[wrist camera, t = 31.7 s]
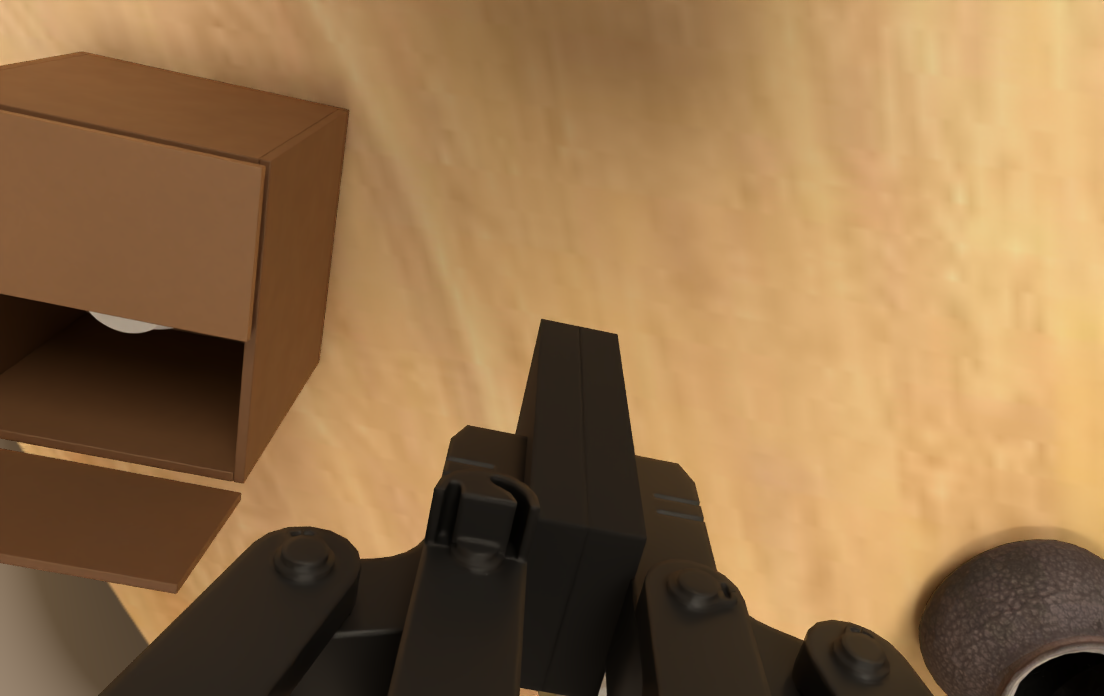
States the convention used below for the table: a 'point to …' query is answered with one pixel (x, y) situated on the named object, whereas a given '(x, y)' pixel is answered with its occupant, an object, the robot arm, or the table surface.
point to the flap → (128, 226)
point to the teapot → (1019, 623)
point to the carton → (162, 337)
